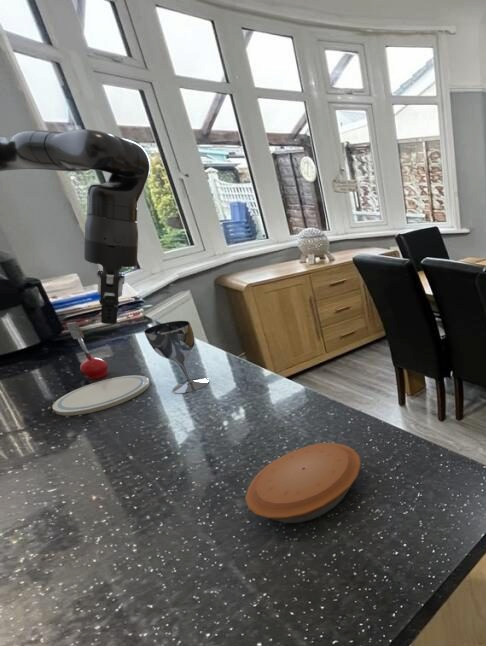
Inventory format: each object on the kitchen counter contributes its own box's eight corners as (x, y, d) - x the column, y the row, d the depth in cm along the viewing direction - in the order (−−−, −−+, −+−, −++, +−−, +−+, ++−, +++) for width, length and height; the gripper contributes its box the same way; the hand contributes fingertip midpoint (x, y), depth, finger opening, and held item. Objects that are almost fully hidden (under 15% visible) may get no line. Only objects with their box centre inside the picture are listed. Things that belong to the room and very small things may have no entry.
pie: (226, 531, 54) (214, 504, 52) (297, 457, 68) (289, 433, 66) (329, 542, 52) (321, 515, 50) (380, 463, 66) (375, 439, 64)
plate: (39, 424, 80) (36, 419, 80) (72, 389, 93) (70, 385, 93) (139, 402, 87) (137, 397, 87) (157, 372, 100) (155, 369, 100)
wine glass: (218, 381, 95) (196, 324, 89) (179, 397, 88) (153, 336, 82) (202, 374, 98) (180, 318, 92) (164, 389, 92) (137, 330, 86)
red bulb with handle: (101, 379, 98) (73, 325, 92) (80, 381, 97) (50, 327, 91) (116, 371, 102) (90, 318, 96) (96, 372, 101) (68, 320, 95)
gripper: (87, 232, 81) (86, 308, 84) (81, 240, 71) (80, 326, 74) (137, 240, 86) (134, 311, 90) (138, 248, 77) (134, 328, 80)
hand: (109, 318), depth 82 cm, fingers open, 8 cm apart
